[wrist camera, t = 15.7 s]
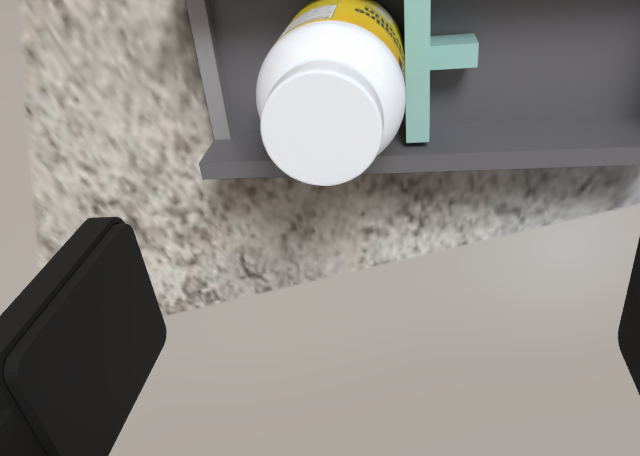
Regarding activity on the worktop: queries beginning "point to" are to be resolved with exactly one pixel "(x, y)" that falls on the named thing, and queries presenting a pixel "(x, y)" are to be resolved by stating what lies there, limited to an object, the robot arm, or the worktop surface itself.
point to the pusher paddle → (428, 64)
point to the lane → (454, 86)
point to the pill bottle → (332, 90)
